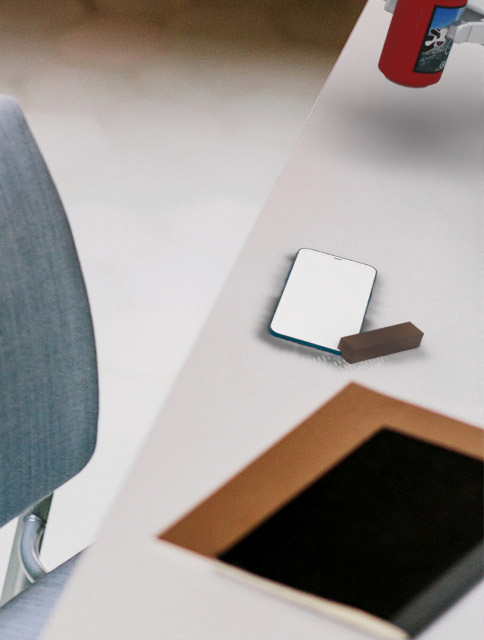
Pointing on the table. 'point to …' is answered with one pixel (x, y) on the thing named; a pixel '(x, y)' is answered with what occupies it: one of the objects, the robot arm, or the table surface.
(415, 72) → the beverage can
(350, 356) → the walnut stick
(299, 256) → the smartphone
